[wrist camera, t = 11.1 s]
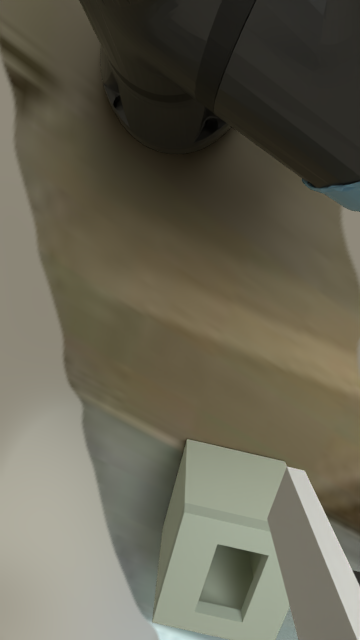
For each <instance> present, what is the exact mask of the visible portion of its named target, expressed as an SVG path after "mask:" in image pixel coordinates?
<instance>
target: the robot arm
mask: <svg viewBox="0 0 360 640" xmlns="http://www.w3.org/2000/svg"><path fill="white" fill-rule="evenodd" d="M79 1H80V3H81V5H82V7H83V9H84V11H85V13H86V15H87V17H88V19H89V21H90V23H91V25H92V27H93V30H94V32H95V34H96V36H97V38H98V40H99V42H100V44H101V49H100V66H101V75H102V80H103V85H104V89H105V92H106V95H107V98H108V100H109V103H110V105H111V107H112V109H113V110H114V112H115V114H116V115H117V117H118V119H119V120H120V122H121V123H122V125H123V126H124V127H125V129H126V130H127V131H128V132H129V133H130V134H131V135H132V136H133V137H134V138H135V139H137V140H138V141H139V142H141V143H142V144H144V145H145V146H147V147H149V148H151V149H154V150H156V151H160V152H163V153H169V154H185V153H190V152H194V151H198V150H200V149H203V148H205V147H207V146H209V145H210V144H212V143H214V142H215V141H216V140H218V139H219V138H220V137H221V136H222V135H224V134H225V133H226V131H227V130H228V129H229V128H230V127H233V128H234V129H236V130H237V131H238V132H240V133H241V134H242V135H244V136H245V137H247V138H248V139H249V140H251V141H252V142H253V143H255V144H256V145H257V146H259V147H260V148H262V149H263V150H264V151H266V152H267V153H268V154H270V155H271V156H272V157H274V158H275V159H277V160H278V161H279V162H281V163H282V164H283V165H285V166H286V167H288V168H289V169H290V170H292V171H293V172H294V173H296V174H297V175H298V176H300V177H301V178H302V182H303V183H304V184H305V185H306V186H307V187H308V188H310V189H311V190H314V191H317V192H320V193H324V194H325V195H327V196H328V197H330V198H331V199H333V200H334V201H336V202H337V203H339V204H340V205H342V206H343V207H345V208H347V209H349V210H352V211H359V212H360V0H79ZM267 520H268V524H269V528H270V532H271V536H272V540H273V543H274V547H275V551H276V555H277V559H278V563H279V566H280V570H281V574H282V578H283V582H284V586H285V589H286V593H287V597H288V601H289V605H290V609H291V612H292V616H293V620H294V624H295V628H296V632H297V636H298V639H299V640H360V572H357V571H353V570H352V569H351V567H350V565H349V563H348V560H347V558H346V556H345V554H344V552H343V550H342V548H341V546H340V544H339V542H338V540H337V537H336V535H335V533H334V531H333V529H332V527H331V525H330V523H329V521H328V519H327V516H326V514H325V512H324V510H323V508H322V506H321V504H320V502H319V500H318V498H317V496H316V493H315V491H314V489H313V487H312V485H311V483H310V481H309V479H308V477H307V475H306V473H305V471H303V470H299V469H295V468H290V467H286V470H285V473H284V475H283V478H282V481H281V483H280V486H279V488H278V491H277V494H276V496H275V499H274V502H273V504H272V507H271V510H270V512H269V515H268V517H267Z"/></svg>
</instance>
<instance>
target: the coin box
mask: <svg viewBox="0 0 360 640" xmlns="http://www.w3.org/2000/svg"><path fill="white" fill-rule="evenodd" d="M286 467H287V465H286V463H285V461H280V460H276V459H272V458H267V457H263V456H259V455H254V454H250V453H246V452H241V451H237V450H233V449H228V448H224V447H220V446H215V445H211V444H207V443H202V442H198V441H194V440H189V439H187V441H186V445H185V448H184V452H183V456H182V459H181V463H180V467H179V470H178V474H177V478H176V481H175V485H174V489H173V492H172V496H171V500H170V503H169V507H168V510H167V514H166V518H165V521H164V525H163V530H162V539H161V548H160V557H159V566H158V575H157V584H156V593H155V602H154V611H153V620H152V622H153V623H157V624H162V625H166V626H171V627H175V628H180V629H184V630H189V631H193V632H198V633H202V634H207V635H211V636H216V637H220V638H225V639H229V640H275V639H276V637H277V634H278V632H279V630H280V628H281V625H282V623H283V621H284V619H285V616H286V614H287V612H288V610H289V607H290V605H289V601H288V597H287V593H286V589H285V586H284V582H283V578H282V574H281V570H280V566H279V563H278V559H277V555H276V551H275V547H274V543H273V540H272V536H271V532H270V528H269V524H268V520H267V517H268V515H269V512H270V510H271V507H272V504H273V502H274V499H275V496H276V494H277V491H278V488H279V486H280V483H281V481H282V478H283V475H284V473H285V470H286Z"/></svg>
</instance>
